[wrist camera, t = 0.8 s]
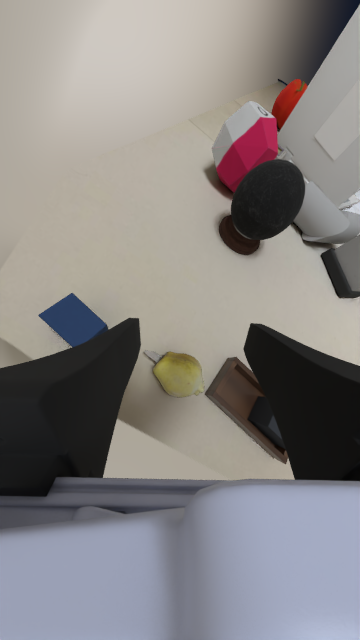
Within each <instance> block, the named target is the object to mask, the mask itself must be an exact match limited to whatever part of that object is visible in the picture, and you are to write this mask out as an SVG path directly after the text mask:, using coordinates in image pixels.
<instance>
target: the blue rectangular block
mask: <svg viewBox="0 0 360 640" xmlns="http://www.w3.org/2000/svg"><path fill="white" fill-rule="evenodd" d="M38 316H39V317H40V318H41V319H43V320H44V321H45V322H46V323H47V324H48V325H49V326H50V327H51V328H52V329H53V330H54V331H56V332H57V333H58V334H59V335H60V336H61V337H62V338H63V339H64V340H65V341H66V342H68V343H69V344H70V345H71V346H72V347H75V346H77V345H80V344H82V343H84V342H87V341H89V340H91V339H93V338H95V337H97V336H99V335H100V334H102V333H104V332H106V331H108V327H107V325H106V324H105V323H104V322H103V321H102V320H101V319H100V318H99V317H98V316H97V315H96V314H95V313H93V312H92V311H91V310H90V309H89V308H88V307H87V306H86V305H85V304H84V303H83V302H82V301H81V300H79V299H78V298H77V297H76V296H75V295H74V294H73V293H71V294H70V295H68V296H67V297H65V298H63V299H62V300H60V301H59V302H57V303H56V304H54V305H53V306H51V307H50V308H48V309H47V310H45V311H44V312H42V313H41V314H39V315H38Z"/></svg>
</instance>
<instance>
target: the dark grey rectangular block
mask: <svg viewBox="0 0 360 640" xmlns="http://www.w3.org/2000/svg"><path fill="white" fill-rule="evenodd" d="M248 420H249V421H250V422H251V423H252V424H253V425H254V426H255V427H256V428H257V429H258V430H259V431H260V432H261V433H263V434H264V435H265V436H266V437H267V438H268V439H269V440H270V441H271V442H272V443H273V444H275V445H277V446H279V447H282V448H284V449H285V446H284V443H283V440H282V437H281V434H280V431H279V428H278V426H277V423H276V420H275V418H274V415H273V413H272V410H271V408H270V405H269V403H268V400H267V398H266V397H260V396H258V398H257V400H256V402H255V404H254V406H253V408H252V410H251V412H250V415H249V417H248Z"/></svg>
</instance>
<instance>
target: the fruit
mask: <svg viewBox="0 0 360 640" xmlns="http://www.w3.org/2000/svg"><path fill="white" fill-rule="evenodd" d="M144 353H145V354H146V355H147V356H148V357H150V358H151V359H153V360H154V361H155V362H156V365H155V367H154V369H153V372H154V374H155V375H156V377H157V378H158V380H159V381H160V383H161V385H162V386H163V388H164V389H165V391H166V392H167V393H168V394H170V395H172V396H174V397H186V396H190V395H193V394H195V395H199V393H200V392H201V393H202V392H203V391H204V381H203V378H202V369H201V365H200V363H199V362H198V361H197V360H196V359H195V358H194V357H192V356H190V355H187V354H177V353H173V352H167V353H166V355H164V356H162V357H161V356H160V355H158V354H157V353H155V352H153V351H148V350H145V351H144Z"/></svg>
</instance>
